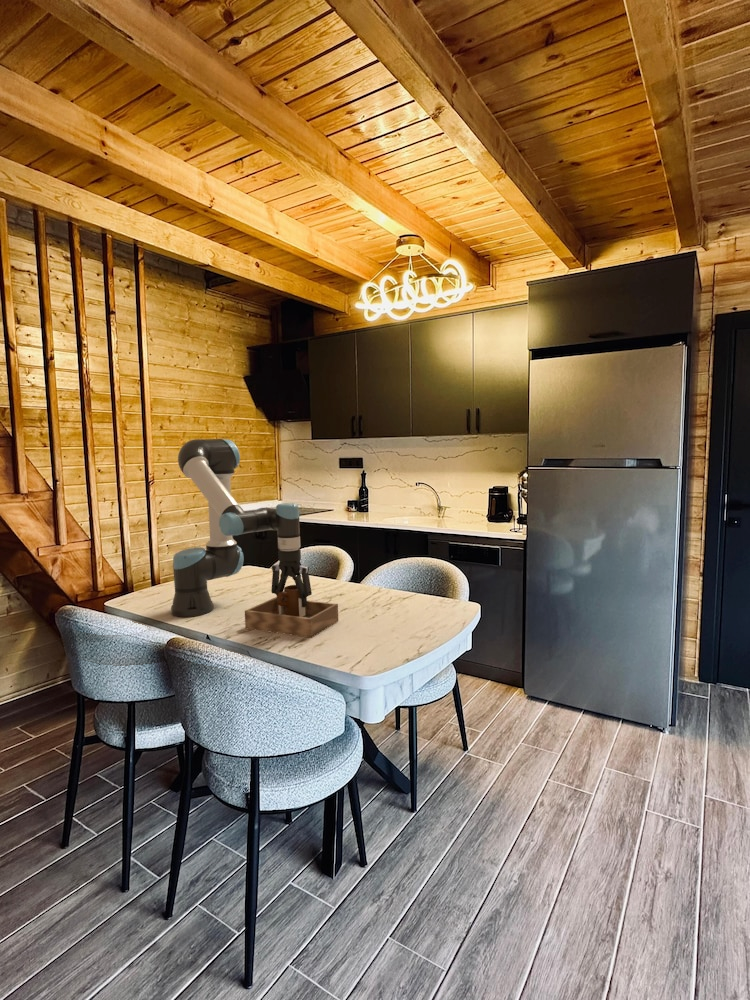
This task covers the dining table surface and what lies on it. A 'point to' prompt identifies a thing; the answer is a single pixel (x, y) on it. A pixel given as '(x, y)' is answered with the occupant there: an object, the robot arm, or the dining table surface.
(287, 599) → the mug
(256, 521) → the robot arm
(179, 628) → the dining table surface
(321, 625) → the crate
